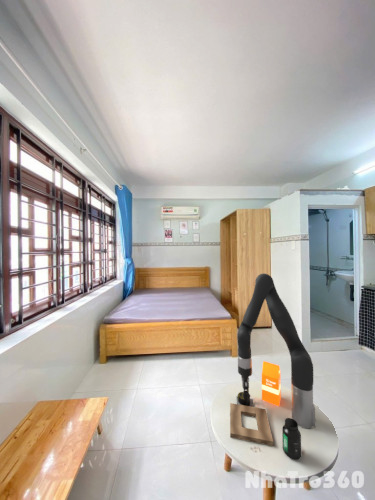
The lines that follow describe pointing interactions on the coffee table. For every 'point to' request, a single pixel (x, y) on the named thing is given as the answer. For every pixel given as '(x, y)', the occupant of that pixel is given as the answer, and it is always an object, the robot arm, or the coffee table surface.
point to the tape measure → (241, 399)
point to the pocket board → (248, 434)
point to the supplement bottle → (291, 439)
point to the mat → (250, 402)
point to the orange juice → (271, 383)
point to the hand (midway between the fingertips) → (245, 394)
